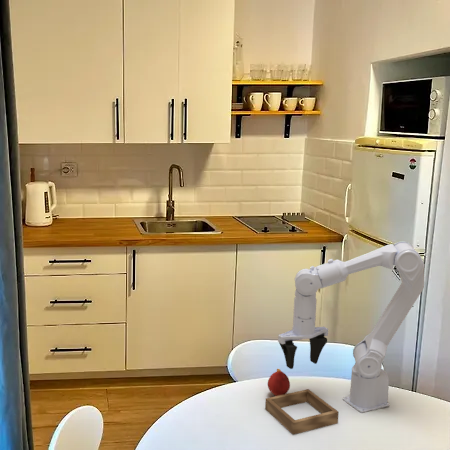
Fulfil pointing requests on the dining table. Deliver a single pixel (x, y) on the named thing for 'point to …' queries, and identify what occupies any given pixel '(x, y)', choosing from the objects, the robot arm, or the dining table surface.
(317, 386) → the dining table surface
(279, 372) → the onion
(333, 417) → the box
